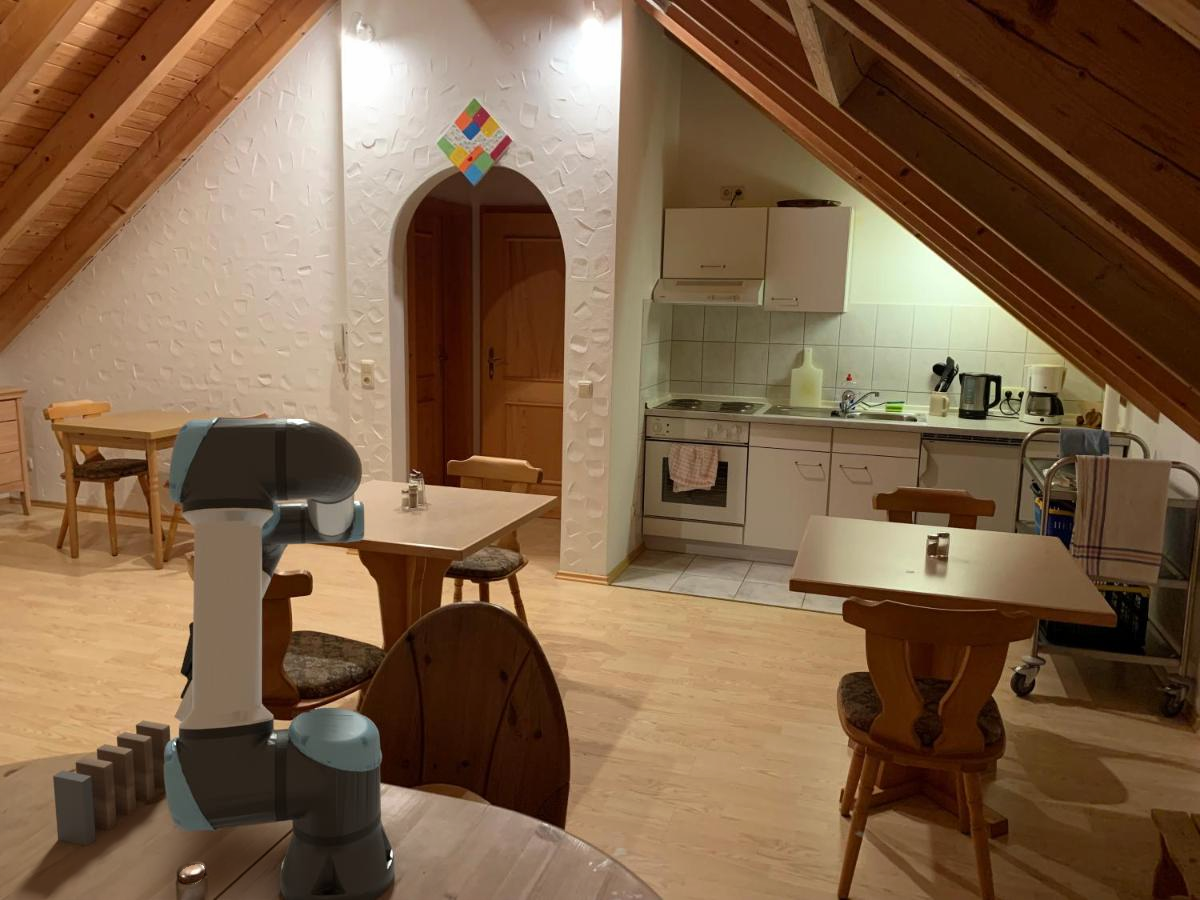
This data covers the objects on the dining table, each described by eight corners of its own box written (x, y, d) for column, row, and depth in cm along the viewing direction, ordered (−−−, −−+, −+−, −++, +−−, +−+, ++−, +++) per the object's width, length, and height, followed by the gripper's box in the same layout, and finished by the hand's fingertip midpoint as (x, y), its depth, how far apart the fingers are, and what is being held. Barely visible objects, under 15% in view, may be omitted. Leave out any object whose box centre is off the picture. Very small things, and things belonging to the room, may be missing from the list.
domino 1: (67, 833, 132) (62, 770, 131) (95, 839, 131) (91, 776, 129) (58, 839, 131) (53, 776, 129) (86, 845, 130) (82, 782, 128)
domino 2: (88, 818, 136) (84, 756, 134) (116, 823, 135) (112, 762, 133) (80, 823, 135) (75, 762, 133) (108, 830, 133) (104, 767, 132)
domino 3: (108, 803, 140) (104, 744, 138) (136, 809, 139) (132, 749, 137) (100, 809, 138) (96, 749, 137) (128, 815, 137) (124, 754, 135)
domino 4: (128, 790, 144) (124, 731, 142) (154, 795, 143) (151, 736, 141) (120, 795, 142) (116, 736, 140) (147, 800, 141) (144, 741, 139)
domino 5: (146, 777, 148) (143, 720, 146) (172, 782, 146) (169, 725, 145) (139, 782, 146) (135, 724, 144) (165, 787, 145) (162, 729, 143)
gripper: (281, 607, 166) (226, 733, 153) (220, 598, 169) (161, 721, 156) (263, 588, 160) (204, 718, 147) (200, 580, 163) (136, 706, 150)
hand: (182, 720), depth 152 cm, fingers closed
